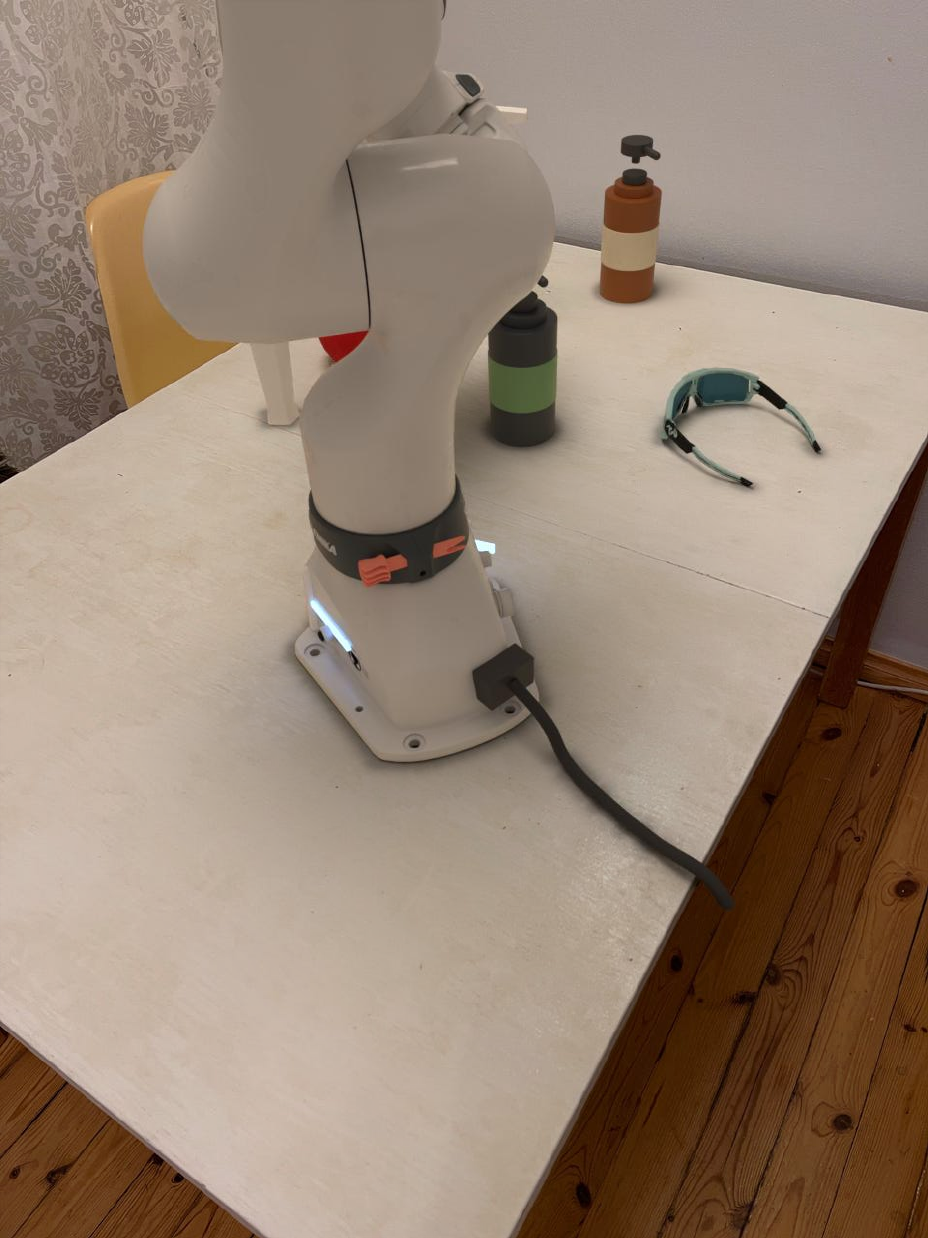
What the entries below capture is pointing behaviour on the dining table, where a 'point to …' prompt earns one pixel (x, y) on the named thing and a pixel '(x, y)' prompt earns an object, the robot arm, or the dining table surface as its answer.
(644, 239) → the amber bottle
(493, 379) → the dark grey pump bottle
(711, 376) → the sunglasses
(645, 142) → the dark grey pump head
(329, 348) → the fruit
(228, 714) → the dining table surface
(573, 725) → the dining table surface
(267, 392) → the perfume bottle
